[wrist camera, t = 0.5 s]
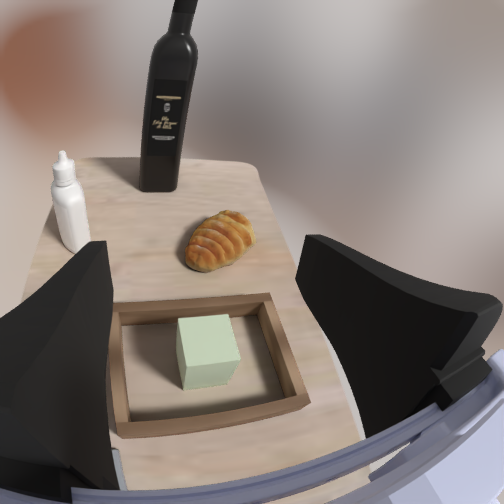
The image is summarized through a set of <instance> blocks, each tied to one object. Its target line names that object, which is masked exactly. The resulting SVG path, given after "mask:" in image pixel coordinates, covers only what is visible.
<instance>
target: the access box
mask: <svg viewBox="0 0 504 504" xmlns="http://www.w3.org/2000/svg"><path fill="white" fill-rule="evenodd" d="M224 314H228V315H229V318H232V317H241V316H250V315H257V316H258V319H259V322H260V325H261V328H262V331H263V334H264V337H265V340H266V343H267V346H268V349H269V352H270V355H271V358H272V361H273V364H274V367H275V369H276V372H277V375H278V378H279V381H280V384H281V387H282V390H283V393H284V396H285V399H281V400H277V401H273V402H269V403H264V404H260V405H255V406H250V407H246V408H241V409H235V410H230V411H224V412H218V413H212V414H206V415H199V416H191V417H183V418H175V419H165V420H153V421H139V422H131V417H130V410H129V403H128V396H127V388H126V379H125V369H124V358H123V344H122V327H121V326H124V325H144V324H161V323H176V322H178V318H189V317H201V316H213V315H224ZM108 346H109V364H110V378H111V389H112V398H113V407H114V415H115V422H116V429H117V435H118V436H120V437H121V438H122V439H129V438H147V437H159V436H170V435H179V434H187V433H194V432H201V431H208V430H214V429H220V428H225V427H230V426H236V425H240V424H245V423H250V422H254V421H259V420H263V419H267V418H271V417H275V416H279V415H283V414H286V413H290V412H294V411H297V410H300V409H302V408H303V407H305V406H306V405H308V404H310V403H311V401H310V399H309V396H308V393H307V391H306V388H305V385H304V383H303V380H302V377H301V375H300V372H299V369H298V367H297V364H296V361H295V359H294V356H293V353H292V351H291V348H290V345H289V343H288V340H287V337H286V335H285V332H284V329H283V327H282V324H281V321H280V319H279V316H278V314H277V311H276V308H275V306H274V303H273V300H272V298H271V295H270V293H260V294H248V295H237V296H224V297H211V298H197V299H182V300H166V301H147V302H125V303H113V316H112V323H111V330H110V337H109V345H108Z"/></svg>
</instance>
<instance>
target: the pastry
mask: <svg viewBox="0 0 504 504" xmlns="http://www.w3.org/2000/svg"><path fill="white" fill-rule="evenodd" d="M255 243H256V238H255V236H254V231H253V229H252V225H251V223H250V221H249V220H248V219H247V218H246V217H245V216H243V215H242V214H240V213H238V212H232V211H229V210H225V211H221V212H219V213H218V214H217V215H214V216H212V217H210V218H208V219H206V220H205V221H204V222H203V223H202V224H201V225H199V226H198V228H196V230H195V231H194V233H193V235H192V236H191V238H190V241H189V244H188V246H187V247H186V249H185V254H186V258H185V261H186V264H187V265H188V266H190V267H191V268H193V269H194V270H197V271H201V272H205V273H207V272H211V271H214V270H215V269H218V268H222V267H224V266H229V265H232V264H233V263H234V262H235V261H236V260H238V259H239V258H241V257H242V256H243V255H244V254H245V253H246V252H247V251H248V250H249V248H251V247H252V246H253V245H254V244H255Z"/></svg>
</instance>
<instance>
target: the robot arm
mask: <svg viewBox="0 0 504 504" xmlns="http://www.w3.org/2000/svg"><path fill="white" fill-rule="evenodd" d="M295 280H296V282H297V285H298V287H299V290H300V292H301V294H302V297H303V299H304V301H305V302H306V304H307V306H308V307H309V309H310V311H311V312H312V314H313V316H314V317H315V319H316V320H317V322H318V323H319V325H320V327H321V328H322V330H323V331H324V333H325V335H326V336H327V338H328V339H329V341H330V343H331V344H332V346H333V348H334V350H335V352H336V354H337V356H338V358H339V361H340V363H341V365H342V367H343V369H344V372H345V374H346V377H347V379H348V382H349V384H350V386H351V389H352V392H353V395H354V397H355V401H356V404H357V407H358V409H359V413H360V417H361V421H362V424H363V428H364V432H365V437H366V439H365V440H362V441H360V442H358V443H356V444H353V445H351V446H348V447H346V448H343V449H341V450H338V451H336V452H333V453H331V454H328V455H325V456H322V457H320V458H317V459H314V460H311V461H308V462H305V463H302V464H298V465H295V466H292V467H288V468H285V469H281V470H278V471H274V472H270V473H266V474H262V475H258V476H254V477H249V478H245V479H240V480H235V481H229V482H224V483H218V484H211V485H204V486H196V487H188V488H177V489H164V490H138V491H123V490H120V487H119V483H118V479H117V474H116V470H115V465H114V460H113V454H112V448H111V442H110V435H109V426H108V416H107V404H106V383H105V378H106V363H107V354H108V345H109V337H110V330H111V323H112V316H113V291H114V290H113V285H112V279H111V272H110V266H109V259H108V251H107V243H106V241H89V242H88V243H87V244H86V245H85V246H83V247H82V248H81V249H80V250H79V251H78V252H77V253H76V254H75V255H74V256H73V257H72V258H71V259H70V260H69V261H68V262H67V263H66V264H65V265H64V266H63V267H62V268H61V269H60V270H59V271H58V272H57V273H56V274H55V275H53V276H52V277H51V278H50V279H49V280H48V281H47V282H46V283H45V284H44V285H43V286H42V287H41V288H39V289H38V290H37V291H36V292H35V293H34V294H32V295H31V296H30V297H29V298H27V299H26V300H25V301H24V302H22V303H21V304H20V305H19V306H17V307H16V308H15V309H13V310H11V311H10V312H9V313H7V314H6V315H4V316H3V317H1V318H0V504H262V503H266V502H270V501H274V500H277V499H281V498H284V497H288V496H291V495H294V494H297V493H300V492H303V491H306V490H309V489H312V488H315V487H317V486H320V485H323V484H325V483H328V482H330V481H333V480H335V479H338V478H340V477H343V476H345V475H347V474H349V473H352V472H354V471H356V470H358V469H360V468H363V467H365V466H367V465H369V464H371V463H373V462H375V461H377V460H379V459H380V458H383V457H385V456H386V455H388V454H390V453H392V452H394V451H395V450H397V449H399V448H401V447H402V446H404V445H406V444H408V443H409V442H410V444H409V445H408V446H407V447H405V448H404V449H402V450H401V451H400V452H399V453H398V454H397V455H396V456H395V457H393V458H392V459H391V460H389V461H388V462H387V463H385V464H384V465H383V466H381V467H380V468H378V469H377V470H376V471H374V472H372V473H371V474H369V476H368V478H369V479H370V481H371V482H370V483H368V484H366V485H365V486H363V487H361V488H358V489H356V490H354V491H352V492H350V493H348V494H346V495H344V496H341V497H339V498H337V499H334V500H332V501H330V502H327V503H325V504H500V503H499V501H498V500H497V496H498V495H499V494H500V493H501V492H502V490H503V489H504V350H503V349H499V350H498V351H497V352H496V353H494V354H493V355H492V356H491V357H490V358H489V359H488V360H487V361H485V360H484V359H483V358H482V356H483V355H484V354H485V350H484V349H483V348H482V347H481V345H482V344H483V343H484V341H485V340H486V338H487V337H488V335H489V334H490V332H491V331H492V329H493V328H494V326H495V324H496V323H497V321H498V319H499V317H500V315H501V312H502V307H503V306H502V303H501V302H500V301H499V300H498V299H497V298H496V297H494V296H492V295H490V294H485V293H478V292H471V291H464V290H459V289H454V288H450V287H446V286H443V285H438V284H435V283H432V282H429V281H426V280H422V279H419V278H416V277H414V276H411V275H409V274H406V273H403V272H401V271H398V270H396V269H394V268H391V267H389V266H387V265H385V264H383V263H380V262H378V261H376V260H374V259H372V258H370V257H368V256H366V255H364V254H362V253H360V252H358V251H356V250H354V249H352V248H350V247H348V246H346V245H344V244H342V243H340V242H337V241H335V240H333V239H331V238H328V237H326V236H323V235H306V236H305V240H304V245H303V249H302V253H301V257H300V262H299V266H298V270H297V274H296V278H295Z"/></svg>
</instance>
